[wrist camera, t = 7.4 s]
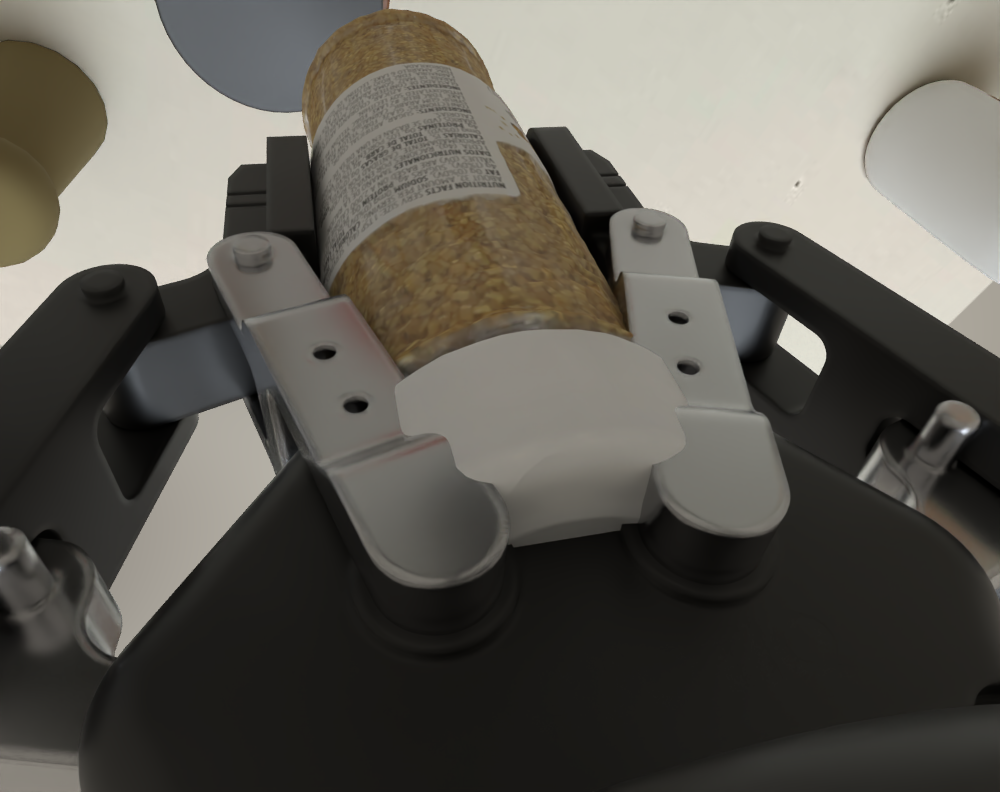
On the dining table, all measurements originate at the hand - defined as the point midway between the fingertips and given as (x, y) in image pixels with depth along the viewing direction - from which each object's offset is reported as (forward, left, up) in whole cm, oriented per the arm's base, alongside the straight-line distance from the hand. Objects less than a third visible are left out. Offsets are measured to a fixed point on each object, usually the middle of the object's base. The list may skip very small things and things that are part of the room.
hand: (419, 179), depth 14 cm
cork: (+8, -15, -25) cm, 30 cm away
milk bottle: (+11, +36, -25) cm, 46 cm away
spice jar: (0, 0, -4) cm, 4 cm away
